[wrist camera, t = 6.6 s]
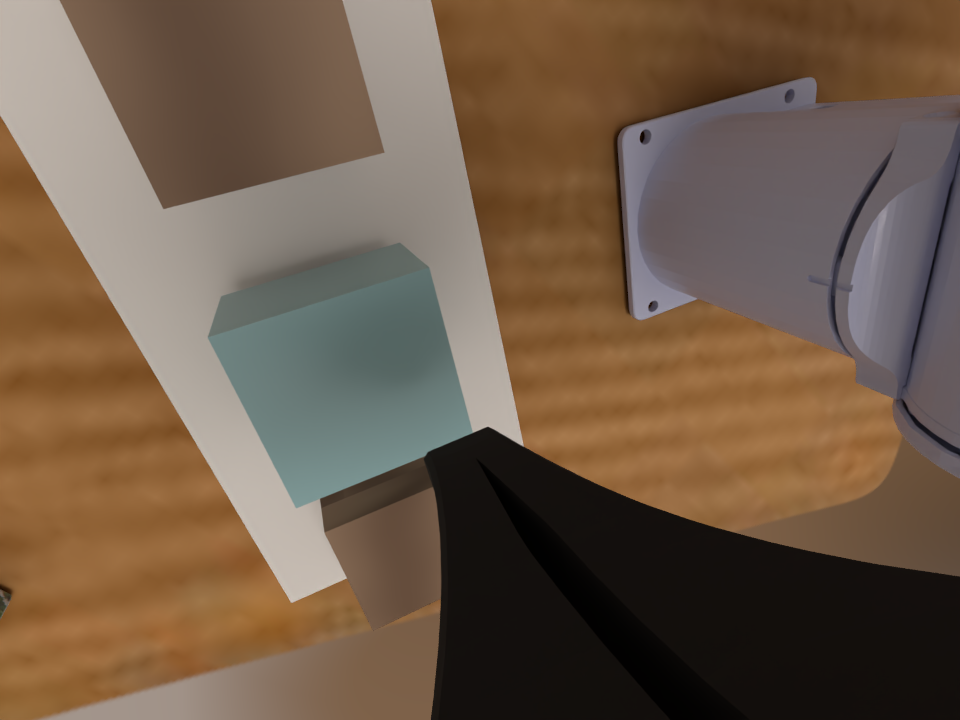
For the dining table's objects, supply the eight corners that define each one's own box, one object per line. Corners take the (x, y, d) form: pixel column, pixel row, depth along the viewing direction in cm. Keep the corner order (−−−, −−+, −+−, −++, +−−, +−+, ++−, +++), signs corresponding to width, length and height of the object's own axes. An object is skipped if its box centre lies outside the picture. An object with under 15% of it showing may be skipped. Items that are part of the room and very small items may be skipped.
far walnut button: (444, 422, 19) (472, 470, 17) (471, 515, 22) (500, 570, 19) (316, 472, 18) (324, 532, 16) (359, 565, 21) (373, 631, 18)
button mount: (397, -83, 14) (429, -142, 11) (519, 475, 24) (554, 523, 21) (-51, -18, 12) (-162, -70, 9) (290, 575, 22) (293, 646, 19)
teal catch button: (399, 242, 14) (429, 267, 12) (441, 387, 17) (473, 436, 14) (220, 296, 13) (207, 337, 11) (292, 443, 16) (296, 508, 13)
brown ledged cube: (300, -65, 12) (308, -122, 10) (364, 149, 15) (384, 152, 12) (78, -33, 11) (16, -86, 9) (185, 194, 14) (163, 209, 11)
